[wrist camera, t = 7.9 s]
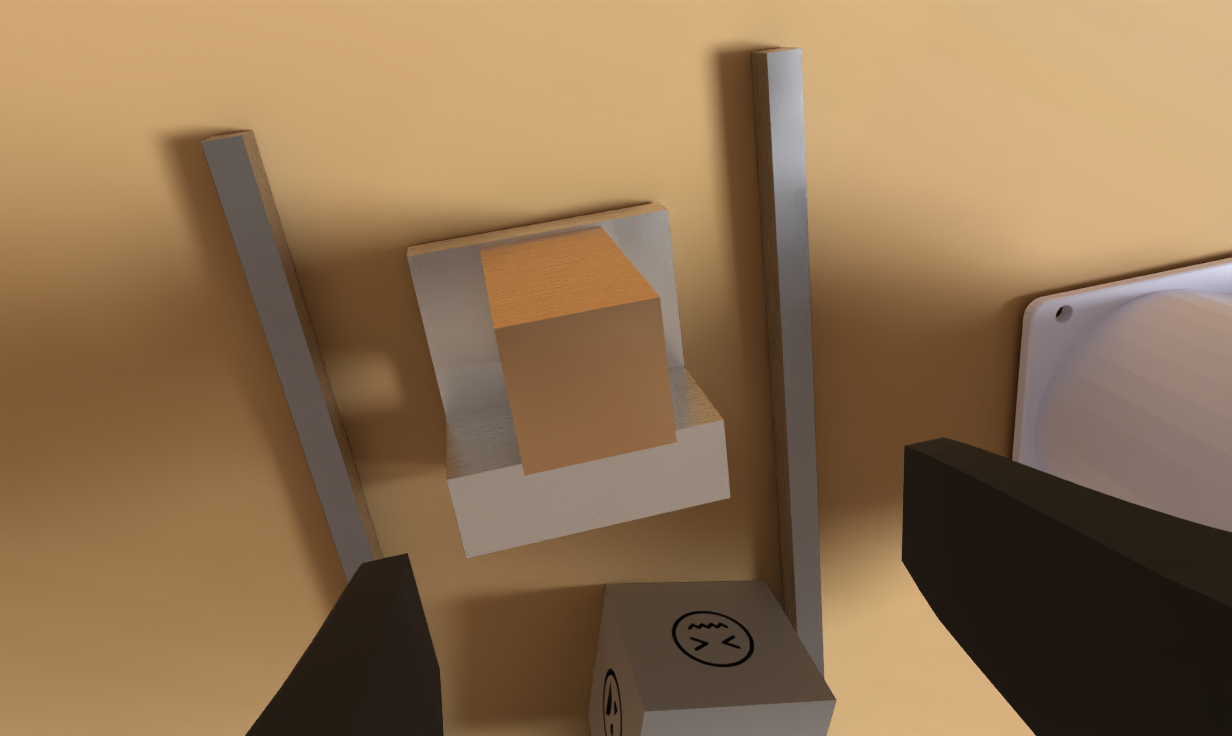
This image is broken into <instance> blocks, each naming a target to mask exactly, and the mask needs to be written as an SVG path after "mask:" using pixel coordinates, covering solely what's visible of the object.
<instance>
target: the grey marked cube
mask: <svg viewBox="0 0 1232 736" xmlns="http://www.w3.org/2000/svg"><path fill="white" fill-rule="evenodd" d="M835 703H836V698H835V697H834V695H833V693H832V692H831V690H830V688H829V687H828V685H827V683H826V682H825V680H824V678H823V677H822V675H821V673H820V672H819V670H818V668H817V667H816V665H815V663H814V662H813V660H812V658H811V656H810V655H809V653H808V651H807V650H806V648H805V646H804V645H803V643H802V641H801V640H800V638H799V636H798V635H797V633H796V631H795V630H794V628H793V626H792V625H791V623H790V621H789V620H788V618H787V616H786V615H785V613H784V611H783V610H782V608H781V606H780V604H779V603H778V601H777V599H776V598H775V596H774V594H773V593H772V591H771V589H770V588H769V586H768V584H767V583H766V581H765V580H756V581H711V582H666V583H622V584H606V587H605V594H604V602H603V609H602V616H601V623H600V630H599V637H598V644H597V652H596V659H595V666H594V673H593V680H592V687H591V694H590V702H589V709H588V720H589V725H590V730H591V734H592V736H826V735H827V732H828V728H829V725H830V721H831V718H832V714H833V710H834V707H835Z"/></svg>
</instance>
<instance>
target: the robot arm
mask: <svg viewBox="0 0 1232 736" xmlns="http://www.w3.org/2000/svg"><path fill="white" fill-rule="evenodd" d="M1062 306H1063V309H1062V312H1061V314H1060V315H1059V316H1058V317H1056V313H1057V311H1058V310H1059V309H1060V307H1062ZM902 562H903V563H904V565H905V567H906V568H907V570H908V572H909V573H910V575H911V577H912V578H913V580H914V582H915V583H916V585H917V586H918V588H919V590H920V591H921V593H922V595H923V596H924V598H925V599H926V601H927V602H928V604H929V605H930V607H931V608H932V610H933V611H934V613H935V614H936V616H937V617H938V619H939V620H940V621H941V622H942V624H943V625H944V626H945V627H946V629H947V630H948V631H949V632H950V634H951V635H952V636H953V637H954V638H955V640H956V641H957V642H958V643H959V645H960V646H961V647H962V648H963V649H964V651H965V652H966V653H967V654H968V655H969V657H970V658H971V659H972V660H973V661H974V663H975V664H976V665H977V666H978V667H979V669H980V670H981V671H982V672H983V673H984V674H985V676H986V677H987V678H988V679H989V680H990V682H991V683H992V684H993V685H994V686H995V688H996V689H997V690H998V691H999V692H1000V693H1001V695H1002V696H1003V697H1004V698H1005V699H1006V701H1007V702H1008V703H1009V704H1010V705H1011V706H1012V708H1013V709H1014V710H1015V711H1016V712H1017V714H1018V715H1019V716H1020V717H1021V718H1022V720H1023V721H1024V722H1025V723H1026V724H1027V725H1028V727H1029V728H1030V729H1031V730H1032V731H1033V733H1034V734H1035V735H1036V736H1232V257H1231V258H1227V259H1222V260H1217V261H1212V262H1207V263H1202V264H1198V265H1193V266H1188V267H1183V268H1178V269H1173V270H1169V271H1164V272H1159V273H1154V274H1149V275H1144V276H1140V277H1135V278H1130V279H1125V280H1120V281H1115V282H1111V283H1106V284H1101V285H1096V286H1091V287H1086V288H1082V289H1077V290H1072V291H1067V292H1062V293H1057V294H1053V295H1048V296H1043V297H1039V298H1037V299H1035V300H1033V301H1032V302H1031V303H1030V304H1029V305H1028V307H1027V308H1026V310H1025V313H1024V317H1023V328H1022V341H1021V354H1020V367H1019V379H1018V392H1017V405H1016V418H1015V431H1014V444H1013V456H1012V460H1010V459H1008V458H1005V457H1002V456H999V455H997V454H994V453H991V452H988V451H985V450H982V449H980V448H977V447H974V446H971V445H968V444H964V443H961V442H958V441H954V440H951V439H947V438H939V439H934V440H930V441H925V442H920V443H916V444H911V445H906V446H905V451H904V491H903V531H902ZM245 736H443V716H442V698H441V682H440V669H439V665H438V661H437V658H436V654H435V651H434V647H433V643H432V640H431V636H430V633H429V629H428V625H427V622H426V618H425V614H424V611H423V607H422V604H421V600H420V596H419V593H418V589H417V585H416V582H415V578H414V575H413V571H412V567H411V564H410V560H409V557H408V553H407V554H402V555H397V556H393V557H388V558H383V559H379V560H374V561H370V562H365V563H362V564H361V565H360V566H359V568H358V569H357V571H356V572H355V573H354V575H353V577H352V578H351V580H350V581H349V583H348V585H347V586H346V588H345V589H344V591H343V593H342V594H341V596H340V598H339V599H338V601H337V603H336V604H335V606H334V607H333V609H332V611H331V612H330V614H329V615H328V617H327V619H326V620H325V622H324V623H323V625H322V627H321V628H320V630H319V631H318V633H317V634H316V636H315V638H314V639H313V641H312V642H311V644H310V645H309V647H308V648H307V650H306V651H305V653H304V654H303V656H302V657H301V658H300V660H299V661H298V663H297V664H296V666H295V667H294V669H293V670H292V672H291V673H290V675H289V676H288V678H287V679H286V681H285V682H284V684H283V685H282V687H281V688H280V689H279V691H278V692H277V693H276V695H275V696H274V697H273V699H272V700H271V702H270V703H269V704H268V706H267V707H266V708H265V710H264V711H263V712H262V714H261V715H260V716H259V718H258V719H257V720H256V722H255V723H254V724H253V726H252V727H251V728H250V730H249V731H248V732H247V734H246V735H245Z"/></svg>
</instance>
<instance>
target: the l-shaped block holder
mask: <svg viewBox="0 0 1232 736" xmlns="http://www.w3.org/2000/svg"><path fill="white" fill-rule="evenodd" d="M407 260H408V264H409V268H410V272H411V276H412V280H413V285H414V289H415V293H416V297H417V301H418V305H419V309H420V313H421V317H422V321H423V325H424V329H425V333H426V337H427V342H428V346H429V350H430V354H431V358H432V362H433V366H434V370H435V374H436V378H437V382H438V386H439V390H440V394H441V399H442V403H443V407H444V411H445V415H446V476H447V484H448V488H449V492H450V496H451V500H452V503H453V507H454V511H455V515H456V519H457V523H458V527H459V531H460V535H461V539H462V543H463V547H464V551H465V555H466V559H467V558H471V557H475V556H480V555H484V554H488V553H493V552H497V551H501V550H506V549H510V548H515V547H519V546H523V545H528V544H532V543H536V542H541V541H545V540H549V539H554V538H558V537H562V536H567V535H571V534H575V533H580V532H584V531H588V530H593V529H597V528H602V527H606V526H610V525H615V524H619V523H623V522H628V521H632V520H636V519H641V518H645V517H649V516H654V515H658V514H662V513H667V512H671V511H676V510H680V509H684V508H689V507H693V506H697V505H702V504H706V503H710V502H715V501H719V500H723V499H728V498H731V497H730V485H729V474H728V463H727V451H726V440H725V429H724V420H723V418H722V417H721V416H720V414H719V413H718V412H717V410H716V409H715V407H714V406H713V405H712V403H711V402H710V401H709V399H708V398H707V397H706V395H705V394H704V392H703V391H702V390H701V388H700V387H699V386H698V384H697V383H696V382H695V380H694V379H693V377H692V376H691V375H690V373H689V372H688V371H687V369H686V368H685V366H684V357H683V348H682V338H681V329H680V320H679V310H678V301H677V292H676V282H675V273H674V264H673V254H672V245H671V236H670V226H669V217H668V209H666V208H665V207H664V206H662V205H661V204H660V203H659V202H657V203H651V204H645V205H640V206H634V207H628V208H623V209H617V210H612V211H606V212H600V213H595V214H589V215H584V216H578V217H572V218H567V219H561V220H555V221H550V222H544V223H539V224H533V225H527V226H522V227H516V228H511V229H505V230H499V231H494V232H488V233H482V234H477V235H471V236H466V237H460V238H454V239H449V240H443V241H438V242H432V243H426V244H421V245H415V246H409V247H408V251H407Z"/></svg>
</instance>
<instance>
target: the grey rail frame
mask: <svg viewBox="0 0 1232 736" xmlns="http://www.w3.org/2000/svg"><path fill="white" fill-rule="evenodd" d="M751 57H752V74H753V91H754V108H755V124H756V141H757V158H758V174H759V191H760V208H761V225H762V241H763V258H764V275H765V291H766V308H767V325H768V341H769V358H770V375H771V392H772V408H773V425H774V442H775V458H776V475H777V492H778V508H779V525H780V542H781V559H782V575H783V592H784V609H785V615H786V616H787V618H788V620H789V621H790V623H791V625H792V626H793V628H794V630H795V631H796V633H797V635H798V636H799V638H800V640H801V641H802V643H803V645H804V646H805V648H806V650H807V651H808V653H809V655H810V656H811V658H812V660H813V662H814V663H815V665H816V667H817V668H818V670H819V672H820V673H821V675H822V677H823V678H824V661H823V633H822V606H821V578H820V550H819V523H818V495H817V468H816V440H815V412H814V385H813V357H812V329H811V302H810V274H809V247H808V219H807V191H806V164H805V136H804V109H803V81H802V53H801V48H791V47H782V48H776V49H769V50H763V51H756V52H751ZM201 144H202V147H203V150H204V153H205V156H206V159H207V162H208V165H209V168H210V171H211V174H212V177H213V180H214V183H215V186H216V189H217V192H218V195H219V198H220V201H221V204H222V207H223V210H224V213H225V216H226V219H227V222H228V225H229V228H230V231H231V234H232V237H233V240H234V243H235V246H236V249H237V252H238V255H239V258H240V261H241V264H242V267H243V270H244V273H245V276H246V279H247V282H248V285H249V288H250V291H251V294H252V297H253V300H254V303H255V306H256V309H257V312H258V315H259V318H260V321H261V324H262V327H263V330H264V333H265V336H266V339H267V342H268V345H269V348H270V351H271V354H272V357H273V360H274V363H275V366H276V369H277V372H278V375H279V378H280V381H281V384H282V387H283V390H284V393H285V396H286V399H287V402H288V405H289V408H290V411H291V414H292V417H293V420H294V423H295V426H296V429H297V432H298V435H299V438H300V441H301V445H302V448H303V451H304V454H305V457H306V460H307V463H308V466H309V469H310V472H311V475H312V478H313V481H314V484H315V487H316V490H317V493H318V496H319V499H320V502H321V505H322V508H323V511H324V514H325V517H326V520H327V523H328V526H329V529H330V532H331V535H332V538H333V541H334V544H335V547H336V550H337V553H338V556H339V559H340V562H341V565H342V568H343V571H344V574H345V577H346V580H347V583H349V581H350V580H351V578H352V577H353V575H354V573H355V572H356V571H357V569H358V568H359V566H360V565H361V564H362V563H365V562H370V561H374V560H379V559H383V556H382V553H381V549H380V546H379V543H378V539H377V536H376V533H375V530H374V526H373V523H372V520H371V517H370V513H369V510H368V507H367V503H366V500H365V497H364V494H363V490H362V487H361V484H360V481H359V477H358V474H357V471H356V467H355V464H354V461H353V458H352V454H351V451H350V448H349V445H348V441H347V438H346V435H345V432H344V428H343V425H342V422H341V418H340V415H339V412H338V409H337V405H336V402H335V399H334V396H333V392H332V389H331V386H330V382H329V379H328V376H327V373H326V369H325V366H324V363H323V360H322V356H321V353H320V350H319V346H318V343H317V340H316V337H315V333H314V330H313V327H312V324H311V320H310V317H309V314H308V311H307V307H306V304H305V301H304V297H303V294H302V291H301V288H300V284H299V281H298V278H297V275H296V271H295V268H294V265H293V261H292V258H291V255H290V252H289V248H288V245H287V242H286V239H285V235H284V232H283V229H282V226H281V222H280V219H279V216H278V212H277V209H276V206H275V203H274V199H273V196H272V193H271V190H270V186H269V183H268V180H267V176H266V173H265V170H264V167H263V163H262V160H261V157H260V154H259V150H258V147H257V144H256V140H255V137H254V134H253V131H252V130H249V131H243V132H236V133H230V134H223V135H217V136H212V137H210V138H208V139H206V140H203V141H201Z"/></svg>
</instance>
